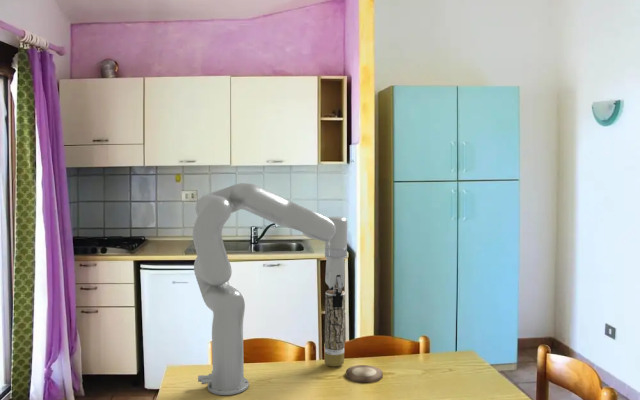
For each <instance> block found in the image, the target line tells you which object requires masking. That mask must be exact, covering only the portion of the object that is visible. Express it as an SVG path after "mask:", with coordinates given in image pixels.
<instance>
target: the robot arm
mask: <svg viewBox="0 0 640 400" xmlns="http://www.w3.org/2000/svg"><path fill="white" fill-rule="evenodd" d="M240 210H244V211H246V212H248V213H251V214H253V215H255V216H258V217H260V218H262V219H264V220H266V221H269V222H271V223H273V224H275V225H278V226H281V227H284V228H288V229H293V230H295V231H299V232H301V233H302V234H303V235H304V236H305V237H307V238H309V239H312V240H315V241H319V242H324V258H326V260H325V261H326V262H325V277H324V279H325V280H324V282H325V284H326V285H327V286H328V290H333V292H334V296H333V308H340V307H342V291H343V288H344V287H345V259H347V257H348V220H347V218H346V217H344V216H329V217H326V216H323V215H322V214H319V213H317V212H315V211H313V210H311V209H308V208H307V207H303V206H301V205H299V204H297V203H294V202H293V201H291V200H288V199H285V198H284V197H282V196H281V195H277V194H275V193H273V192H271V191H270V190H267V189H265V188H263V187H260V186H259V185H256V184H253V183H247V182H246V183H245V182H241V183H240V182H239V183H236V184H232V185H230V186H227V187H224V188H221V189H219V190H216V191H213V192H210V193H207V194H204V195H202V196H201V197H200V198H199V199H198V200H197V202H196V204H195V213H196V215H197V217H196V219H195V221H194V226H193V229H192V241H193V245H194V249H195V252H196V258H195V260H194V263H193V271H194V275H195V279H196V282H197V285H198V288H199V291H200V293H201V297H202V299H203V302H204V304H205V305H206V308H208V309H210V310H211V311H212V313H213V318H212V324H211V347H212V349H211V353H212V356H211V357H212V370H211V373H208V374H205V375H204V374H202V375H200V374H199V375H198V376H197V383H201V385H206V384H207V390H208V391H209V392H210V393H212V394H213V395H218V396H233V395H237V394H240V393H243V392H245V391H246V390H248V388H249V386H250V382H249V380H248V379H247V378H245V377H244V375H245V374H244V372H245V370H244V369H245V368H244V363H245V362H244V318H245V317H244V316H245V311H246V310H245V309H246V303H245V302H246V301H245V298H244V297H243V295H242V293H241V292H240V291H239V290H238V288H235V287H233V286H231V285H230V283H229V282H230V281H229V280H230V279H231V277H232V272H233V270H232V264H231V263H230V260H229V257H228V254H227V250H226V248H225V245H224V239H223V228H224V226H225V224H226V222H228V220H229V219H230V217H231V215H232V213H235V212H238V211H240Z"/></svg>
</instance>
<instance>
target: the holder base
mask: <svg viewBox="0 0 640 400" xmlns="http://www.w3.org/2000/svg"><path fill="white" fill-rule="evenodd" d="M345 376H346V378H347V379H348V380H350V381H352V382H355V383H358V384H359V383H360V384H370V383H376V382H379V381H381V380H382V379H383V370H382V369H380V368H379V367H377V366H374V365H369V364H367V365H366V364H360V365H359V364H358V365H353V366H350V367H348V368H347V369H346V371H345Z"/></svg>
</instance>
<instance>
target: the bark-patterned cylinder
mask: <svg viewBox="0 0 640 400" xmlns="http://www.w3.org/2000/svg"><path fill="white" fill-rule="evenodd" d="M333 296H334V292H333V290H329V289H328V290H326V291H325V296H324V298H325V299H324V300H325V301H324V304H325V305H324V309H325V310H324V363H325V365H326V366H329V367H340V366H342V365H343V364H344V362H345V334H346V333H345V330H346V329H345V327H346V326H345V323H346V291H344V290H342V307H340V308H333Z"/></svg>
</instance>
